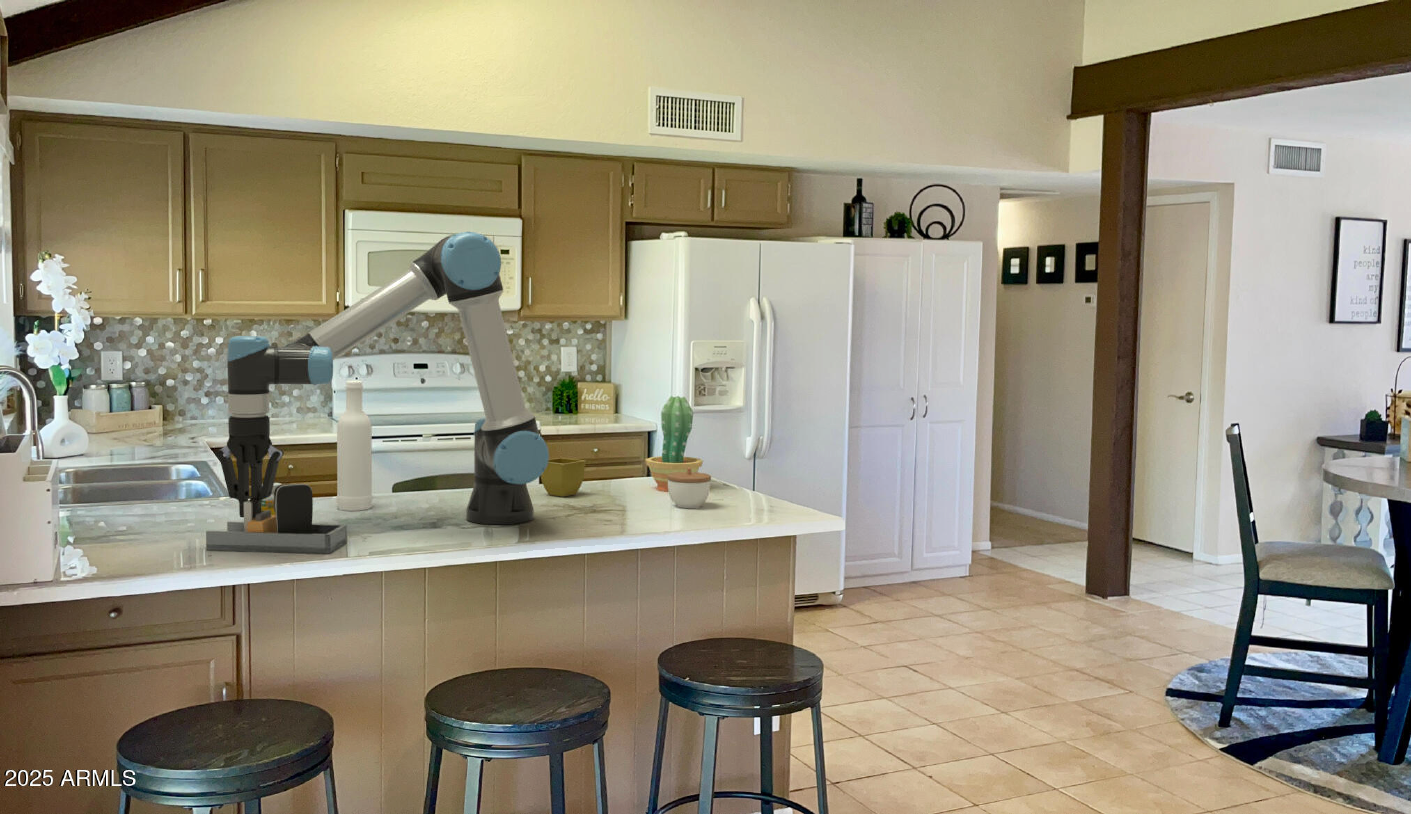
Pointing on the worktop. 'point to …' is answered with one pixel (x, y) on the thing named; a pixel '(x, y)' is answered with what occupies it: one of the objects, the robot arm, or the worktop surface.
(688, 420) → the potted cactus
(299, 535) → the tray
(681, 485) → the lidded jar
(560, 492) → the flower pot
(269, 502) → the supplement bottle
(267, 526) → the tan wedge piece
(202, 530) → the worktop surface
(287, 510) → the battery charger
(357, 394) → the bottle
